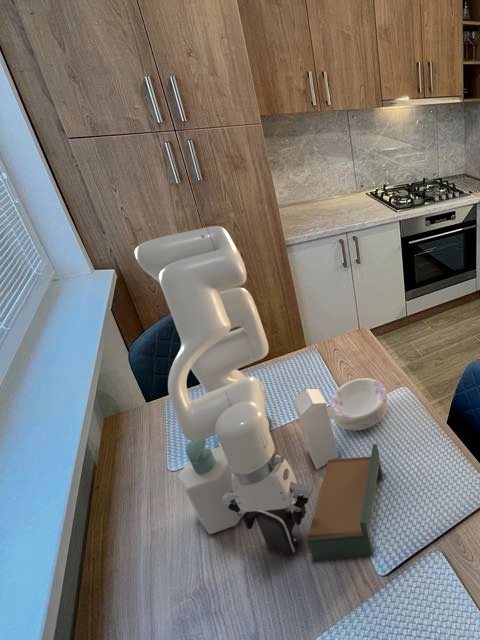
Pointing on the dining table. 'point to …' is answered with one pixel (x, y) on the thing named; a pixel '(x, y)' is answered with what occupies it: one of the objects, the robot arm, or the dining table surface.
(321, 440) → the milk
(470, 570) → the dining table surface
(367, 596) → the dining table surface
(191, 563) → the dining table surface
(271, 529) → the battery charger
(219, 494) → the soap bottle
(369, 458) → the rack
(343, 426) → the paper bowls
